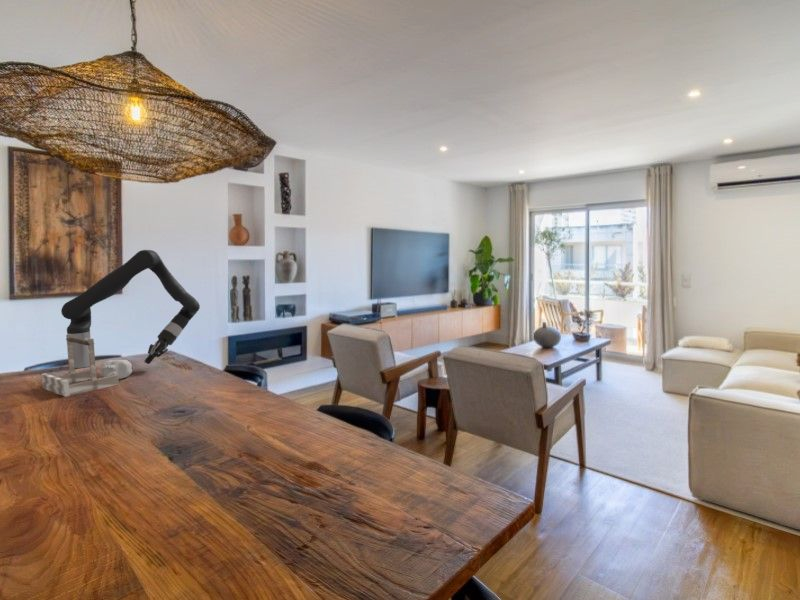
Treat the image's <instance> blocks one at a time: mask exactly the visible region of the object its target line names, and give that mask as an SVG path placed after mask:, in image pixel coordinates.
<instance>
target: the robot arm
mask: <svg viewBox="0 0 800 600" xmlns="http://www.w3.org/2000/svg"><path fill="white" fill-rule="evenodd" d="M148 269H149V270H150V271H152V273H153V274H155V275H156V277H157V278H158V279H159V281H160V282H161V284H162V286H163V288H164V290H165V291H166V292H167V293H168V294H169V295H170V297H171V298H173V300H174V301H176V302H178V303H180V305H182V307H181V309H180V310H179V311H178V312H177V314H175V316H174V317H173V318H172V319H171V320H170V322H169V323H168V324H166V326H165V327H164V328H163V329H162V330H161V331H160V333H159V334H158V335H157V340H156V341H155V342H154V344H153V343H152V344H150V345H149V346H148V350H147V354H148V356H147V357H146V358H145V360H144V363H145V364H147V365H150V364H151V363H152V362H153V360H154V359H155V358H159V357H160V356H162V355H164V354H165V353H166V352H168V351H169V348H168V346H172V345H173V344H174V342H175V341H176V340H177V339H178V337H179V336H180V335H181V334H182V332H183V330H184V329H185V328H186V327H187V325H188V323H189V322H190V321H191V319H192V318H193V317H194V316H195V315H196V314H197V313H198V311H199V310H200V307H201V306H200V303H199V301H198V300H197V299H196V298H195V297H194V296H193V295H191V294H190V293H189V292H187V290H186V289H185V288H184V287H183V285H182V284H180V282H178V280H177V279H176V278H175V277H174V275H173V274H172V273H171V271H170V270H169V269H168V267H167V265H165V263H164V261H163V260H162V258H161V256H160V255H159V254H158V253H157V252H156V251H154V250H152V249H142V250H139V251H137V253H135V254H134V255H133V256H132V257H131V258H130V259H128V260H127V261H126V262H125V263H124V264H123V265H121V266H119V267H117V268H116V269H114V270H112V271H111V272H109V273H108V274H106V275H105V276H103V277H102V278H101V279H99V280H98V281H97V282H96V283H94V284H93V285H92V286H90V287H89V288H88V289H86V291H85V290H84V291H83V292H82V293H81V294H80V295H78V296H75V297H74V298H72V299H70V300H68V301H67V302H66V303H64V304H63V306H62V307H61V309H60V310H61V315H62V316H63V317H64V318H65V319H67V320H70V323H69V325H68V326H67V327H66V335H69V334H71V335H72V338H76V339H81V340H86V341H88V339H92V338H91V326H92V309H91V307H93V306H95V305H96V304H98V303H100V302H102V301H104V300H106V299H109V298H111V297H113V296H115V295H116V294H117V293H118V292H120V291H121V290H123V289H125V287H126V286H127V285H128V284H129V283H130V281H132V279H133V278H134V277H135V276H136V275H139V274H140V273H142V272H144V271H145V270H148ZM72 343H73V355H74V367H75V369H81V368H83V369H84V368H87V367H88V368H89V367H90V363H89V351H88V346H87V345H83V344H78V343H74V342H72Z"/></svg>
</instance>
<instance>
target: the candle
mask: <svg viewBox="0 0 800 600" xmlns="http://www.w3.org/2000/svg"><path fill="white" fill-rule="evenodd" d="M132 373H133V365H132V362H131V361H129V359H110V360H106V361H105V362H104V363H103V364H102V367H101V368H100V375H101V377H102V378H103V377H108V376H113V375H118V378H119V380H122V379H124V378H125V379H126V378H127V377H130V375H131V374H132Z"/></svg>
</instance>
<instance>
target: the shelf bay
mask: <svg viewBox="0 0 800 600" xmlns="http://www.w3.org/2000/svg"><path fill="white" fill-rule="evenodd" d="M65 337H66V349H67V361H68V373H65V374H61V375H56V376H55V375H52V374H49V373H41V384H42V389H44V390H46V391H48V392H51V393H53V394H57V395H60V396H61V397H62V396H63V398H65V397H66V398H67V397H69V396H73V395H74V396H75V395H78V394H83V393H87V392H91V391H95V390H101V389H104V388H109V387H113V386H119V385H120V379H119V378H118V375H113V376H108V377H103V376H102V377H99V378H98V376H97V375H98V374H97V368H96V367H97V366H96V357H95V356H96V355H95V354H96V353H95V342H94V341H95V340H94V338H91V339H88V341H86V340H81V339H76V338H72V335H71V334H69V335H67V334H66V336H65ZM72 342H74V343H78V344H83V345H87V346H88V351H89V363H90V366H89V369H87V370H82V371H76V368H75V367H74V355H73V343H72ZM75 371H76V372H75ZM88 379H89V380H88Z"/></svg>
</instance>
